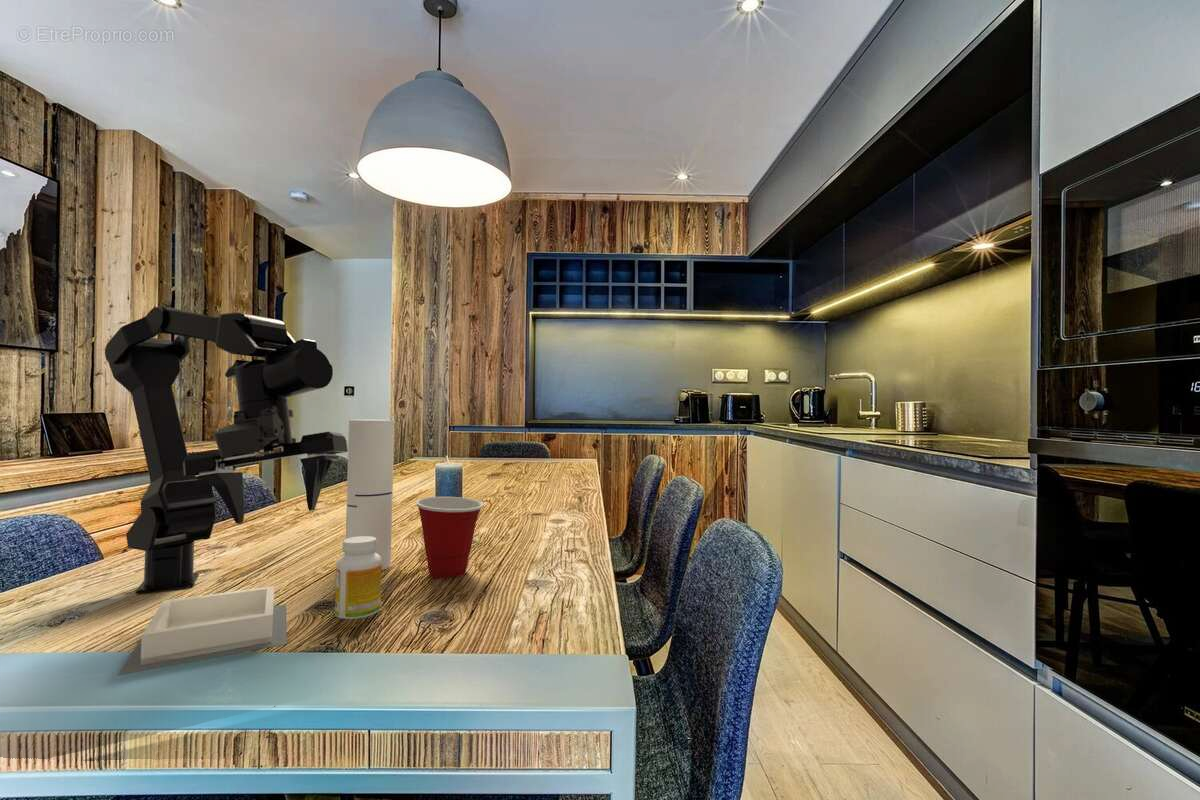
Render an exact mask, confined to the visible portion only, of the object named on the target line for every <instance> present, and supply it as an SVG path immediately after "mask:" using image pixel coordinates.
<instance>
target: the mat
mask: <svg viewBox="0 0 1200 800" xmlns="http://www.w3.org/2000/svg"><path fill="white" fill-rule="evenodd" d="M287 636H288V635H287V604H280V605H274V611H273V631H272V642H268V643H262V644H257V645H251V646H245V647H240V648H234V649H229V650H223V651H217V652H212V653H206V654H201V655H195V656H189V657H184V658H178V659H172V660H167V661H161V662H156V663H150V664H144V665H141V640H142V637H141V638H140V639H139V641H138V643H137V644H136V645H135V646H134V649H133V651H132V652H131V654H130V655H129V656H128V658H127V659H126V662H125V663H124V665H123V666H122V668H121V669H120V671H119V672H118V674H117V675H118V676H122V675H127V674H131V673H137V672H142V671H148V670H154V669H158V668H163V667H165V668H166V667H169V666H170V667H171V666H175V665H176V666H177V665H181V664H185V663H192V662H198V661H201V660H202V661H203V660H208V659H214V658H219V657H225V656H230V655H234V654H235V655H236V654H241V653H246V652H252V651H253V652H254V651H257V650H262V649H269V648H273V647H278V646H284V645H287V643H288V642H287Z"/></svg>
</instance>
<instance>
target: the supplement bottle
mask: <svg viewBox="0 0 1200 800" xmlns="http://www.w3.org/2000/svg"><path fill="white" fill-rule="evenodd" d="M375 549H376V538H375V537H371V536H359V537H352V538H347V539H346V538H345V539H343V540H342V552H343V553H344V555H342V556H341V557H339V558H338V560H336V565H335V593H334V594H335V598H334V614H335V615H334V616H335V617H337V618H338V619H343V620H344V619H345V620H347V619H348V620H351V619H352V620H353V619H354V620H355V619H360V618H365V617H366V618H367V617H369V616H372V615H375V614H376V613H378V612H380V610H381V600H382V595H381V593H382V569H381V565H382V563H381V557H380V555H378V554H377V553H374V550H375Z"/></svg>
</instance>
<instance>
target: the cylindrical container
mask: <svg viewBox="0 0 1200 800" xmlns="http://www.w3.org/2000/svg"><path fill="white" fill-rule="evenodd" d="M347 443H348V444H347V450H348V452H347V474H346V475H347V477H346V480H347V481H346V483H347V484H346V508H345V509H346V514H345V515H346V517H345V518H346V519H345V539H347V538H352V537H359V536H371V537H375V538H376V549H375V550H374V553H377V554H378V555H380V557H381V563H382V565H381V571H385V570H388V569H389V568H390V567H391V566H392V532H393V531H392V526H393V523H392V522H393V498H394V497H393V490H394V489H393V488H394V454H395V453H394V452H395V451H394V450H395V449H394V448H395V447H394V446H395V420H394V419H348V442H347ZM390 565H391V566H390ZM388 567H389V568H388ZM387 568H388V569H387ZM384 569H385V570H384Z"/></svg>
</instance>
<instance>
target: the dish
mask: <svg viewBox="0 0 1200 800" xmlns="http://www.w3.org/2000/svg"><path fill="white" fill-rule="evenodd" d="M274 606H275V586H274V585H273V586H264V587H256V588H250V589H242V590H235V591H226V592H221V593H220V592H218V593H212V594H205V595H204V594H203V595H197V596H189V597H182V598H174V599H166V600H163V601H162V602H161V604H160V606H159V607H158V609H157V610H156V612H155V613H154V615H153V616H152V618H151V620H150V621H149V622H148V625H147V626H146V628H145V629H144V631H143V632H142V634H141V638H142V640H141V665H144V664H150V663H156V662H161V661H167V660H172V659H178V658H184V657H189V656H195V655H201V654H206V653H212V652H217V651H223V650H229V649H234V648H240V647H245V646H251V645H257V644H262V643H268V642H272V631H273V611H274Z"/></svg>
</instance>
